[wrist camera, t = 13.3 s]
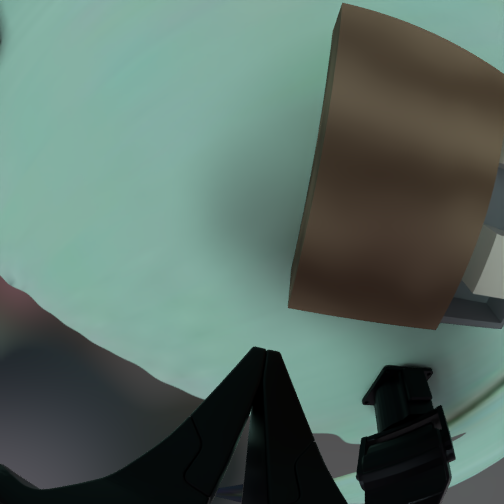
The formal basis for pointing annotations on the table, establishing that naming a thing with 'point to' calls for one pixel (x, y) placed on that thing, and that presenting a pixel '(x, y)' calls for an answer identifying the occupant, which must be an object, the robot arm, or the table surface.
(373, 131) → the walnut plate
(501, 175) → the box
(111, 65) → the table surface
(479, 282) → the tile
